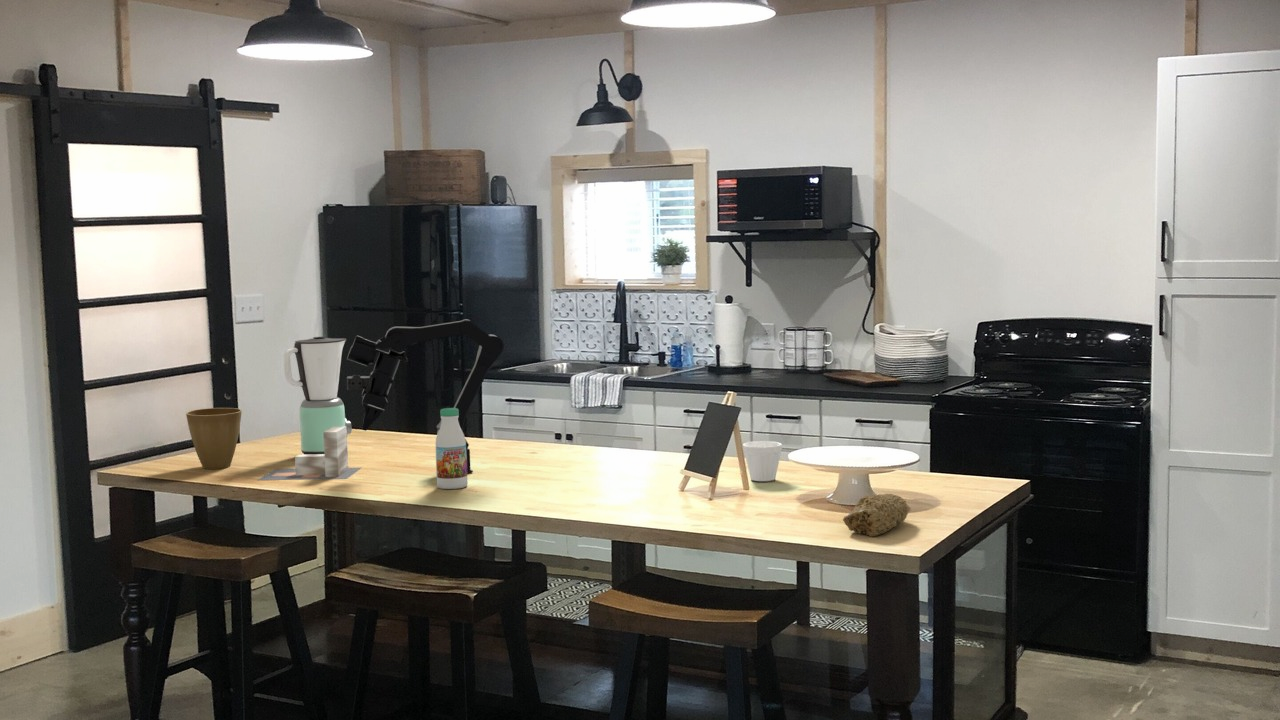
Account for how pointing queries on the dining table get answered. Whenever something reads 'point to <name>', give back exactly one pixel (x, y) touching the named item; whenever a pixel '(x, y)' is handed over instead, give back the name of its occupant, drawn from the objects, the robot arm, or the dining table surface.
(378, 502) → the dining table surface
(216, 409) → the plant pot
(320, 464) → the l block
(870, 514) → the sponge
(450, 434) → the milk bottle
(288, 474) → the mat
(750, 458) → the cup
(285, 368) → the blender
